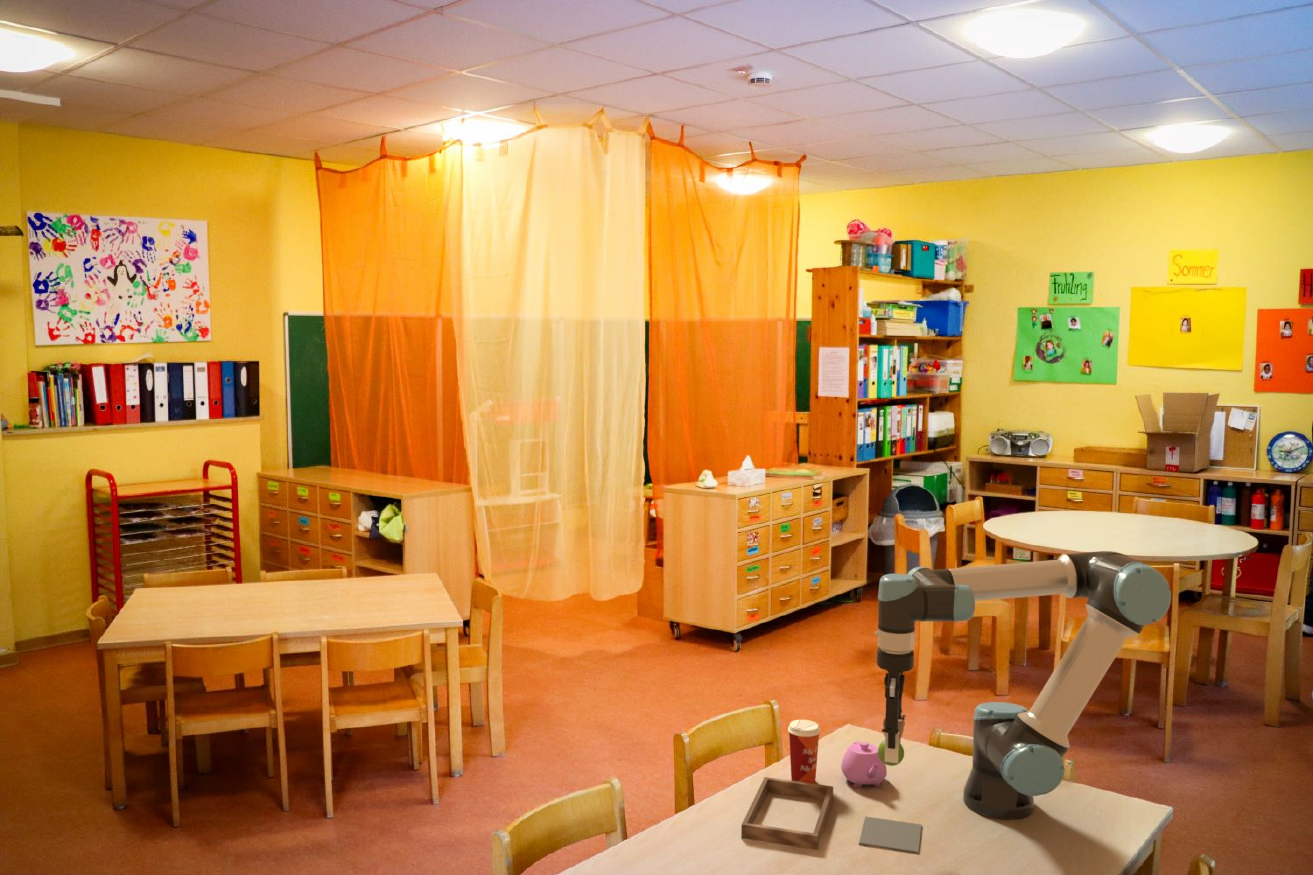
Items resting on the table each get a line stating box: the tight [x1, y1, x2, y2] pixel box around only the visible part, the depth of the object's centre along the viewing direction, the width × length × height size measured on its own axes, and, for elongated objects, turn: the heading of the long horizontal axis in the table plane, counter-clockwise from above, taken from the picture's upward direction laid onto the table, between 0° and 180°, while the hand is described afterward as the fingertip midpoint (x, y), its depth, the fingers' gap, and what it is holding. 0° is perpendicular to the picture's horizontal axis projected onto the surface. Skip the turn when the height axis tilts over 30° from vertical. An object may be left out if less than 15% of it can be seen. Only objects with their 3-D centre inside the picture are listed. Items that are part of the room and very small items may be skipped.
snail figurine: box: [877, 714, 907, 767], centre depth 210 cm, size 5×6×12 cm
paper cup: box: [787, 719, 821, 784], centre depth 237 cm, size 8×8×14 cm
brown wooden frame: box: [740, 776, 834, 851], centre depth 220 cm, size 16×24×3 cm, turn 162°
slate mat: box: [858, 816, 922, 854], centre depth 212 cm, size 12×12×1 cm
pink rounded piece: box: [840, 740, 888, 788], centre depth 237 cm, size 10×15×9 cm
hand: (892, 755), depth 210 cm, fingers closed on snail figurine, 5 cm apart
